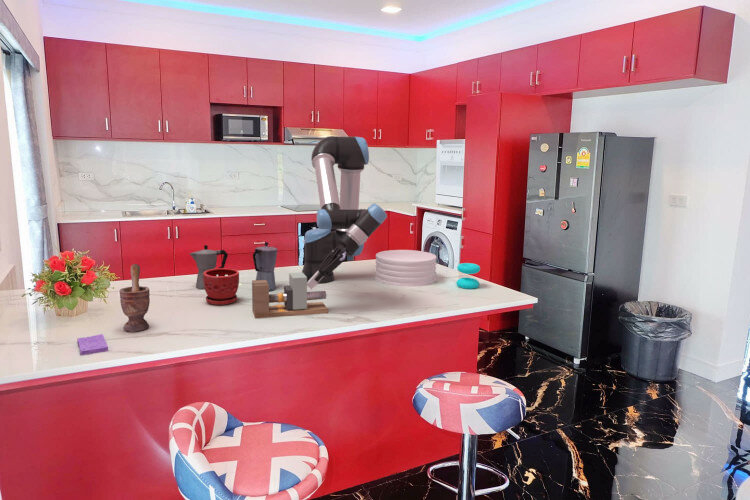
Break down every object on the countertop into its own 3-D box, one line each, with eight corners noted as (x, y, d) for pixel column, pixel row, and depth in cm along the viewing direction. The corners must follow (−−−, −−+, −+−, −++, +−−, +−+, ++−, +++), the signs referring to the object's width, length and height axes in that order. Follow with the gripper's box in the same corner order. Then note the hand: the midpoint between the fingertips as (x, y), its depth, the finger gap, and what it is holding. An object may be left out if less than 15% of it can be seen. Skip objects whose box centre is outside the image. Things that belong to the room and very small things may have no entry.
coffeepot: (191, 290, 214) (189, 247, 211) (190, 285, 223) (188, 244, 220) (230, 287, 220) (229, 246, 217) (227, 282, 229) (226, 242, 225)
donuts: (464, 261, 236) (484, 264, 231) (462, 282, 238) (482, 286, 232) (453, 264, 229) (473, 268, 223) (452, 286, 230) (472, 290, 225)
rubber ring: (284, 304, 191) (284, 285, 190) (289, 303, 192) (289, 285, 191) (287, 309, 185) (287, 290, 184) (292, 309, 185) (292, 290, 184)
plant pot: (196, 304, 196) (195, 273, 194) (219, 295, 208) (218, 266, 206) (225, 308, 191) (224, 277, 189) (246, 299, 203) (246, 269, 201)
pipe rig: (252, 310, 189) (251, 280, 187) (322, 305, 197) (322, 276, 195) (254, 318, 181) (254, 286, 179) (327, 312, 189) (328, 282, 187)
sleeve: (289, 303, 192) (289, 273, 190) (302, 302, 194) (302, 272, 192) (293, 309, 185) (292, 278, 183) (306, 308, 187) (306, 277, 184)
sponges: (81, 357, 145) (80, 351, 145) (77, 343, 155) (76, 337, 155) (109, 352, 149) (108, 346, 149) (103, 339, 159) (103, 333, 159)
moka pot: (284, 286, 225) (283, 240, 221) (265, 295, 210) (264, 246, 207) (264, 284, 228) (264, 239, 224) (245, 292, 213) (244, 244, 210)
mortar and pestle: (116, 324, 171) (112, 265, 167) (144, 320, 176) (140, 262, 173) (126, 334, 162) (122, 272, 158) (155, 329, 168) (151, 268, 164)
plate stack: (445, 278, 247) (446, 254, 245) (417, 290, 224) (418, 264, 222) (394, 270, 262) (395, 247, 260) (363, 280, 239) (364, 256, 237)
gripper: (365, 249, 186) (319, 297, 184) (354, 243, 198) (312, 288, 196) (350, 235, 183) (304, 284, 181) (341, 230, 196) (297, 276, 193)
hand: (308, 286), depth 189 cm, fingers closed
